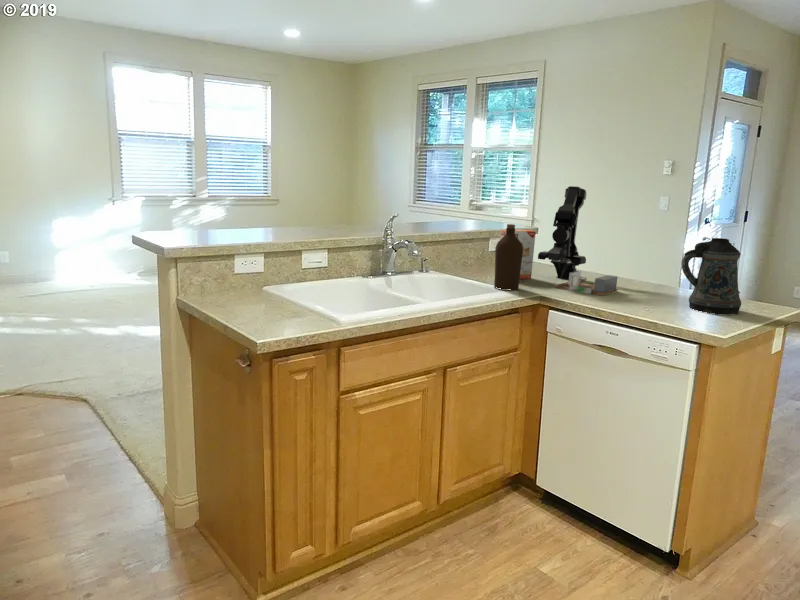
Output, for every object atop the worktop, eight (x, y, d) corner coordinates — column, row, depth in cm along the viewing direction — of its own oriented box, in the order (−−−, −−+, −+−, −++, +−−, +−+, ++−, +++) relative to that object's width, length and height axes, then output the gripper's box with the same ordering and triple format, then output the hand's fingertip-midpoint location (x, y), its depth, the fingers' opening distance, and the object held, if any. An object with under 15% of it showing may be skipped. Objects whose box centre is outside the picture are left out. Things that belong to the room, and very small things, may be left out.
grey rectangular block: (593, 291, 234) (595, 278, 233) (606, 287, 243) (607, 275, 242) (603, 292, 231) (605, 279, 230) (616, 288, 240) (617, 276, 239)
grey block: (566, 285, 241) (567, 273, 240) (577, 282, 249) (578, 270, 248) (578, 287, 238) (579, 274, 237) (589, 284, 245) (590, 272, 244)
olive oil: (507, 292, 231) (512, 226, 226) (487, 287, 239) (491, 223, 234) (525, 289, 238) (530, 225, 233) (504, 284, 246) (509, 222, 241)
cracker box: (502, 279, 257) (506, 230, 253) (496, 277, 263) (499, 228, 258) (532, 279, 261) (536, 230, 257) (525, 276, 267) (529, 229, 262)
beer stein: (750, 315, 207) (763, 242, 202) (701, 315, 203) (712, 241, 198) (717, 304, 223) (727, 236, 218) (670, 304, 219) (679, 235, 214)
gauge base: (553, 288, 243) (554, 282, 243) (569, 283, 254) (570, 278, 254) (601, 296, 230) (602, 290, 230) (616, 291, 241) (617, 286, 241)
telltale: (572, 286, 239) (573, 276, 238) (574, 286, 240) (575, 276, 240) (576, 287, 238) (577, 277, 237) (578, 286, 239) (579, 276, 239)
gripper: (532, 239, 246) (529, 277, 249) (576, 244, 234) (572, 284, 237) (545, 237, 254) (542, 274, 257) (588, 242, 242) (584, 281, 246)
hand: (559, 278), depth 249 cm, fingers closed
